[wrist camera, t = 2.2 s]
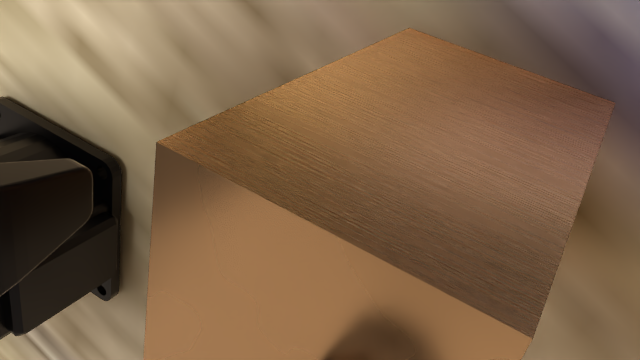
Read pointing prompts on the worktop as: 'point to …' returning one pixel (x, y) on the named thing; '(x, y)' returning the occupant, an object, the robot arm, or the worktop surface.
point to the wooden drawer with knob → (371, 211)
